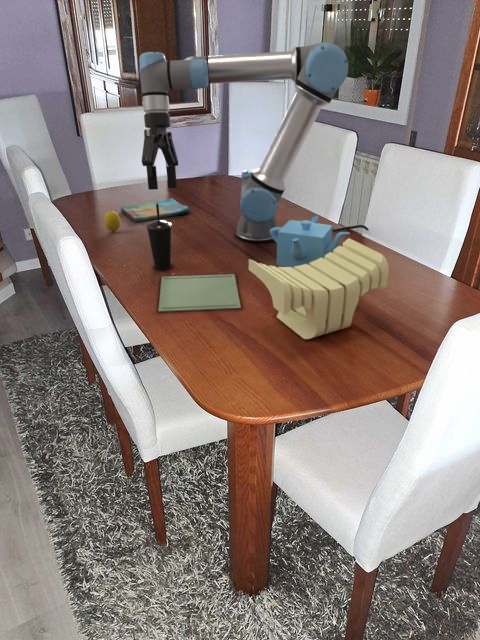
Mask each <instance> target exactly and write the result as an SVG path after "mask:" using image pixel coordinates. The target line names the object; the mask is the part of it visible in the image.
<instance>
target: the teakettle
mask: <svg viewBox="0 0 480 640" xmlns="http://www.w3.org/2000/svg"><path fill="white" fill-rule="evenodd" d="M318 219H319V215H318V214H317V215H313V217H312V218H311V220H306V219H305V220H293V219H289V220H288V221H287V222H286V223H285V224H284V225H283V226H278V227H274V228H272V229H270V235H271V237H272V238H273V241H274V242H275V243H276V262H275V263H276V266H278V267H292V268H293V269H294V266H300V265H304V264H307V265H309V263H310V262H312V261H315V260H317V259H319V258H321V257H322V258H323V259H324V256H325V255H326V254H328V253H329V252H332V253H333V250H334V249H335V248H337V247H338V246H339V243H340V242H341V240H342V238H344V237H345V236H347V235H350V234H351V232H349V231H338V233H336V235H335V236H334V238H333V232H332V230H333V229H334V225H332V224H326V223H318ZM277 232H278V235H277ZM332 239H333V241H332Z"/></svg>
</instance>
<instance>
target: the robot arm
mask: <svg viewBox="0 0 480 640" xmlns="http://www.w3.org/2000/svg"><path fill="white" fill-rule="evenodd" d="M138 61H139V71H138V74H139V78H140V87H141V97H142V102H141V104H142V108H143V112H144V113H145V114H143V120H144V127H145V128H146V129H144V130H143V135H144V136H143V137H144V139H143V146H142V153H141V154H142V155H141V163H142V167H146V178H147V189H148V190H149V191H151V190H158V189H159V185H158V174H157V172H158V171H157V166H156V165H155V163H156V159H157V155H158V151H159V149H160V150H161V153H162V155H163V157H164V160H165V162H166V165H167V166H166V167H165V168H166V176H167V177H166V179H167V188H168V189H177V188H178V184H177V183H178V181H177V170H176V169H177V168H176V167H177V166H179V159H178V154H177V151H176V148H175V144H174V140H173V134H172V131H167V128H170V127H171V115H170V113H169V112H170V101H169V99H170V98H169V91H175V90H176V91H177V90H201V89H206V88H208V87H209V85H210V84H211V85H212V84H224V83H225V84H227V83H228V84H229V83H248V82H266V81H268V82H269V81H287V80H289V81H290V80H291V81H292V82H293V83H294V85H293V86H294V89H295V93H294V96H293V98H292V101H290V105H289V106H288V108H287V110H286V113H285V115H284V117H283V119H282V121H281V123H280V125H279V127H278V129H277V131H276V133H275V135H274V138H273V139H272V142H271V143H270V146H269V148H268V150H267V151H266V154H265V156H264V157H263V160H262V162H261V164H260V166H259V168H251V169H244V170H243V171H242V172H241V177H240V180H241V181H240V182H241V184H240V186H241V188H240V189H241V192H240V198H239V203H238V204H239V210H240V212H241V215H240V218H239V221H238V224H237V227H236V230H235V231H236V233H235V234H236V238H238V239H239V240H241V241H243V242H246V243H247V242H248V243H255V244H257V243H258V244H260V243H269V242H273V241H274V240H273V238H272V237H271V235H270V229H272V228H274V227H279V226H278V223H277V219H276V216H275V214H276V213H277V209H278V205H279V202H280V200H281V198H282V196H283V194H284V193H285V190H286V186H285V180H286V178H287V176H288V174H289V172H290V170H291V168H292V167H293V164H294V163H295V161H296V158H297V156H298V155H299V153H300V150H301V148H302V147H303V145H304V143H305V141H306V139H307V137H308V135H309V133H310V131H311V129H312V128H313V125H314V123H315V121H316V119H317V118H318V116H319V114H320V111H321V110H322V108H323V107H325V106H328V105H330V104H331V102H332V100H333V98H334V96H335V95H336V92H337V90H338V89H339V88H340V87H342V85H343V84H344V82H345V81H346V79H347V77H348V73H349V62H348V57H347V55H346V53H345V51H344V50H343V49H342V48H341V47H340V46H338V45H337V44H335V43H333V42H326V41H321V42H318V43H317V42H316V43H314V44H313V43H312V44H309V45H304V46H294V47H293V48H292V49H291V50H288V51H287V50H286V51H273V52H272V51H271V52H269V51H268V52H253V53H238V54H237V53H236V54H220V55H204V56H197V55H191V56H188V57H185V58H184V59H179V60H178V59H177V60H176V59H175V60H168V59H166V55H165V54H164V53H162V52H160V51H147V52H146V51H145V52H143V53H141V54H140V55H139V58H138ZM344 227H345V228H344ZM361 228H362V229H364V230H365V231H369V227H367V226H366V225H364V224H357V225H350V226H349V225H348V226H343V227H339V228H333V230H332V233H336V232H342V231H345V230H353V229H361ZM277 235H278V232H277Z"/></svg>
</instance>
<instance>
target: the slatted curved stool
mask: <svg viewBox="0 0 480 640" xmlns="http://www.w3.org/2000/svg"><path fill="white" fill-rule="evenodd" d="M389 269H390V268H389V263H388V260H387V259H386V257H385V256H384V254H382V253H381V252H378V251H376V250H374V249H372V248H371V247H369V246H365V245H364V244H362V243H360V242H358V241H356V240H353V239H352V238H351V237H348V238H347V239H346V240H344V241H343V242H342V245H338V246H337V248H335V249H334V250H333V253H332V252H329V253H328V254H326V255H325V256H324V259H323V258H322V257H321V258H319V259H317V260H315V261H312V262H310V263H309V265H307V264H304V265H300V266H294V269H293V268H292V267H285V266H275V265H270V264H269V265H267V264H265V263H262V262H257V261H256V260H253V259H250V258H248V271H250V272H251V274H253V275H254V276H256V277H257V278H258V279H259V280H260V282H262V283H263V284H264V286H265V287H266V288H267V290H268V292H269V293H270V296H271V301H272V307H273V308H274V309H275V310H276V311H278V312H277V315H276V318H277V319H278V320H279V321H281V322H282V323H284V325H285V326H287V327H288V328H290V329H291V330H292V331H293V332H294V333H296V334H297V335H298V336H300V337H301V338H302V339H303V340H310V339H313V338H317V337H321V336H322V335H323V336H324V335H326V334H329V333H330V334H331V333H333V332H337V331H340V330H344V329H347V328H350V327H351V325H352V322H353V317H354V314H355V312H356V309H357V306H358V303H359V301H360V296H364V295H365V294H366V293H367V292H369V290H374V289H377V288H387V285H388V279H389V272H390V270H389Z"/></svg>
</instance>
